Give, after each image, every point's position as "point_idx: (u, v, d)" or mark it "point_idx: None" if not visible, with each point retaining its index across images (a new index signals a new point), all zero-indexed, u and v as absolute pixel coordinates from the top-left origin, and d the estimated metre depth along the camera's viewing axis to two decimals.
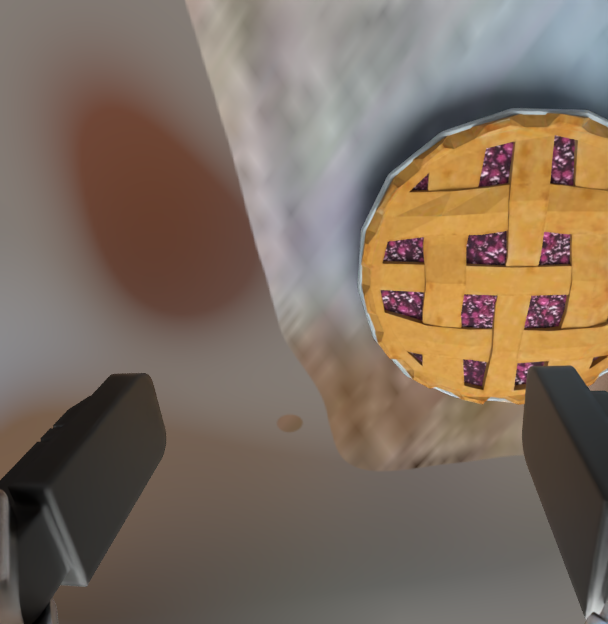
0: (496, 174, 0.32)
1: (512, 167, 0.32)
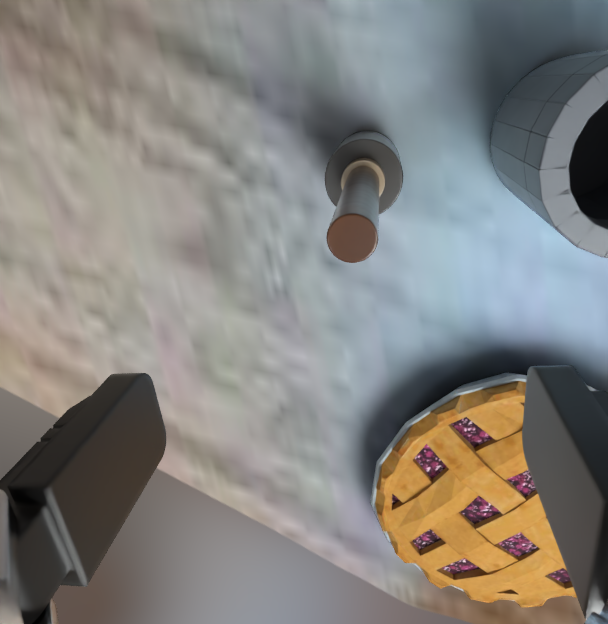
0: (436, 464, 0.37)
1: (441, 458, 0.37)
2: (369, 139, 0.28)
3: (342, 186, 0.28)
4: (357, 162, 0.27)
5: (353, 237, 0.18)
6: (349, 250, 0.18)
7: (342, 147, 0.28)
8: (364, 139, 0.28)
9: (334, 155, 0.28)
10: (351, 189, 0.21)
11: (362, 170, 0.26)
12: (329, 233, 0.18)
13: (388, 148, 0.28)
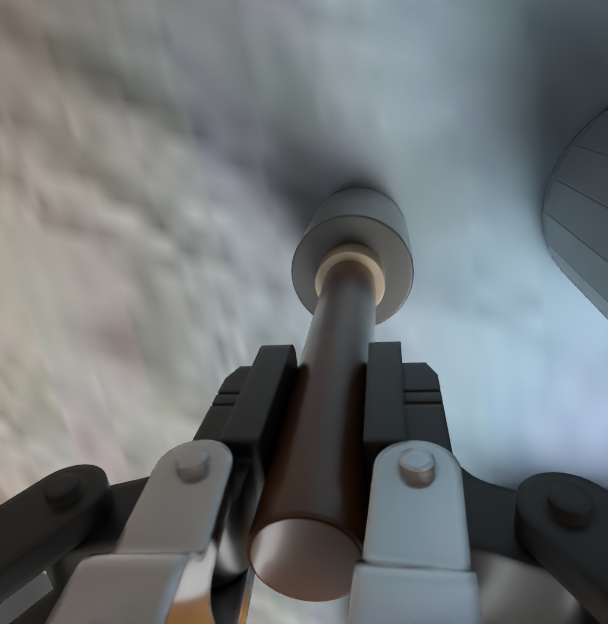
0: None
1: None
2: (361, 215, 0.17)
3: (317, 289, 0.17)
4: (341, 254, 0.17)
5: (308, 559, 0.07)
6: (300, 580, 0.07)
7: (318, 226, 0.17)
8: (353, 215, 0.17)
9: (305, 238, 0.18)
10: (320, 355, 0.11)
11: (348, 276, 0.15)
12: (251, 545, 0.07)
13: (391, 230, 0.17)
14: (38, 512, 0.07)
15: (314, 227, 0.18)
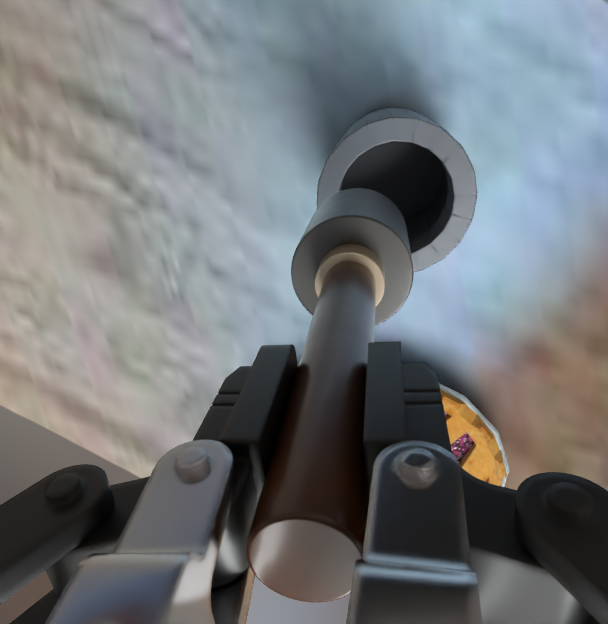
0: None
1: None
2: (360, 215, 0.17)
3: (317, 289, 0.17)
4: (340, 255, 0.17)
5: (307, 560, 0.07)
6: (299, 581, 0.07)
7: (317, 227, 0.17)
8: (352, 215, 0.17)
9: (305, 238, 0.18)
10: (320, 356, 0.11)
11: (347, 276, 0.15)
12: (251, 546, 0.07)
13: (391, 230, 0.17)
14: (38, 512, 0.07)
15: (314, 227, 0.18)
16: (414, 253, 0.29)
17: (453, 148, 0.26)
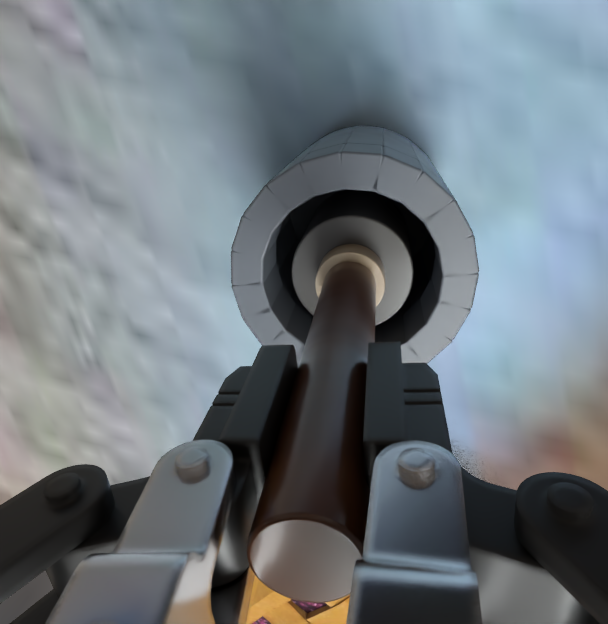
0: None
1: None
2: (361, 215, 0.17)
3: (317, 289, 0.17)
4: (341, 255, 0.17)
5: (308, 561, 0.07)
6: (300, 582, 0.07)
7: (318, 227, 0.17)
8: (353, 215, 0.17)
9: (305, 238, 0.18)
10: (320, 356, 0.11)
11: (347, 276, 0.15)
12: (251, 546, 0.07)
13: (391, 230, 0.17)
14: (38, 512, 0.07)
15: (314, 227, 0.18)
16: None
17: (440, 202, 0.16)
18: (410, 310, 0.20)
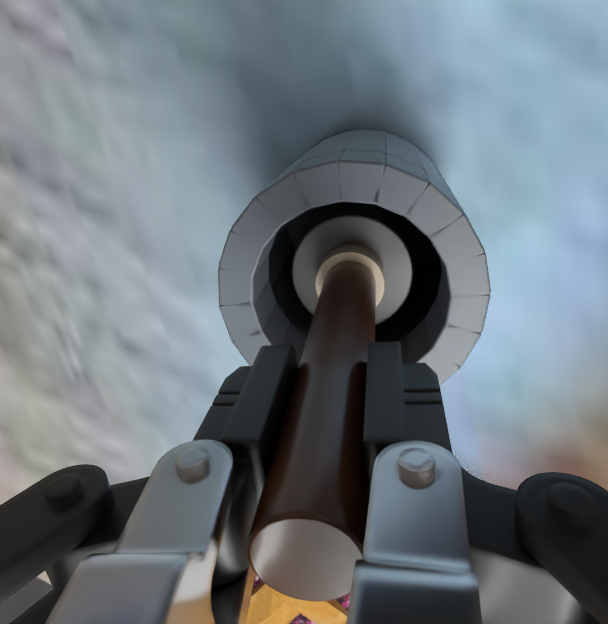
0: (255, 574, 0.33)
1: None
2: (361, 215, 0.17)
3: (317, 289, 0.17)
4: (341, 254, 0.17)
5: (308, 559, 0.07)
6: (300, 580, 0.07)
7: (318, 227, 0.18)
8: (353, 215, 0.17)
9: (305, 238, 0.18)
10: (320, 355, 0.11)
11: (347, 276, 0.15)
12: (251, 545, 0.07)
13: (391, 230, 0.17)
14: (38, 512, 0.07)
15: (314, 227, 0.18)
16: None
17: (448, 216, 0.14)
18: (414, 331, 0.18)
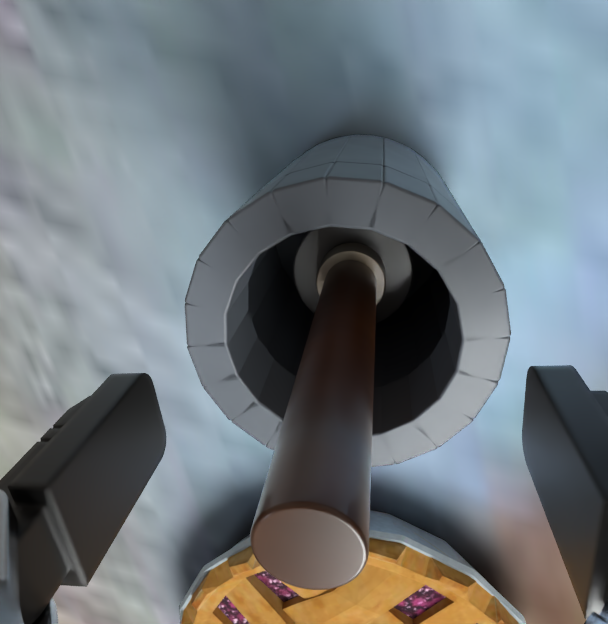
0: (243, 616, 0.30)
1: (244, 614, 0.29)
2: None
3: (318, 288, 0.18)
4: (342, 253, 0.17)
5: (310, 548, 0.07)
6: (302, 569, 0.08)
7: None
8: None
9: (307, 237, 0.18)
10: (322, 352, 0.11)
11: (348, 275, 0.16)
12: (255, 534, 0.08)
13: None
14: None
15: None
16: (382, 435, 0.14)
17: (460, 245, 0.12)
18: (417, 371, 0.16)
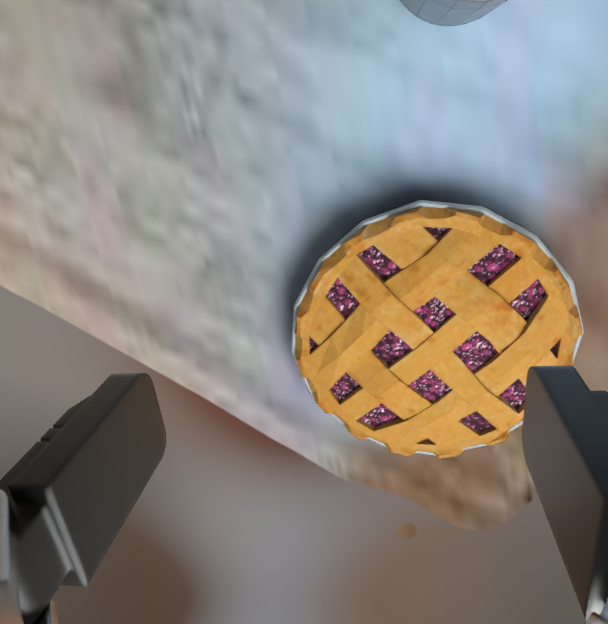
0: (349, 302, 0.38)
1: (351, 293, 0.38)
2: None
3: None
4: None
5: None
6: None
7: None
8: None
9: None
10: None
11: None
12: None
13: None
14: None
15: None
16: None
17: None
18: None
